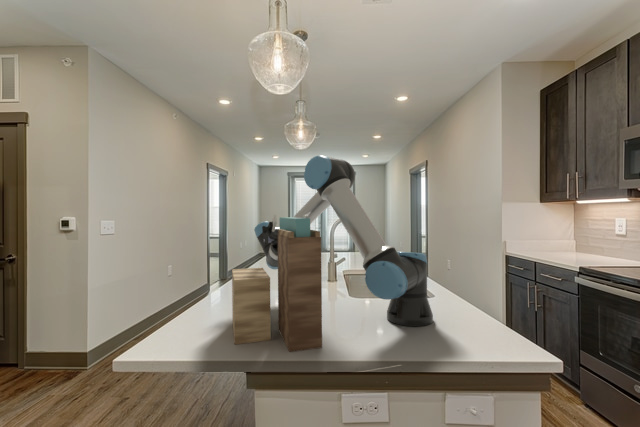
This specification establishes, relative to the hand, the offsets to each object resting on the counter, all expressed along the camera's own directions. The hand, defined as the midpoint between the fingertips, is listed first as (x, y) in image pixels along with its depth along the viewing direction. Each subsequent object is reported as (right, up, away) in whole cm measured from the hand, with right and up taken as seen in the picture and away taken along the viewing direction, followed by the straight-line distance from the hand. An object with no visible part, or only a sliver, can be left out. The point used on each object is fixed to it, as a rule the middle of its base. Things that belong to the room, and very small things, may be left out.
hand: (290, 218), depth 104 cm
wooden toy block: (-12, -35, -4) cm, 37 cm away
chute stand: (+3, -35, -10) cm, 36 cm away
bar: (+1, -5, -4) cm, 6 cm away
